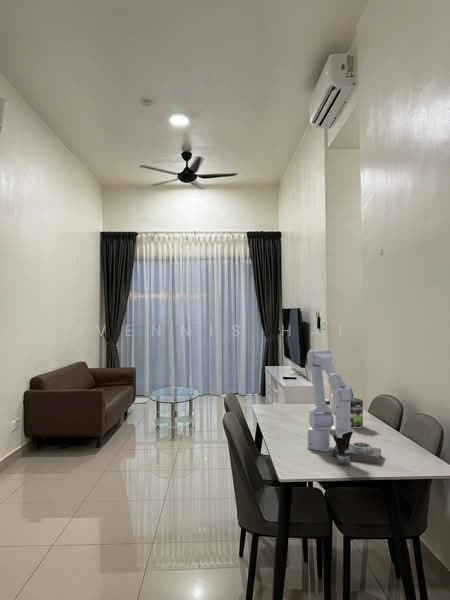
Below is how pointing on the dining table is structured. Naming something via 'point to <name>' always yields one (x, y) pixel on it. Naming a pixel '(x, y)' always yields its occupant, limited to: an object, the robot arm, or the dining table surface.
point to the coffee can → (356, 413)
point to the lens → (344, 458)
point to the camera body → (362, 452)
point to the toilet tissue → (333, 407)
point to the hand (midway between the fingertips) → (343, 451)
